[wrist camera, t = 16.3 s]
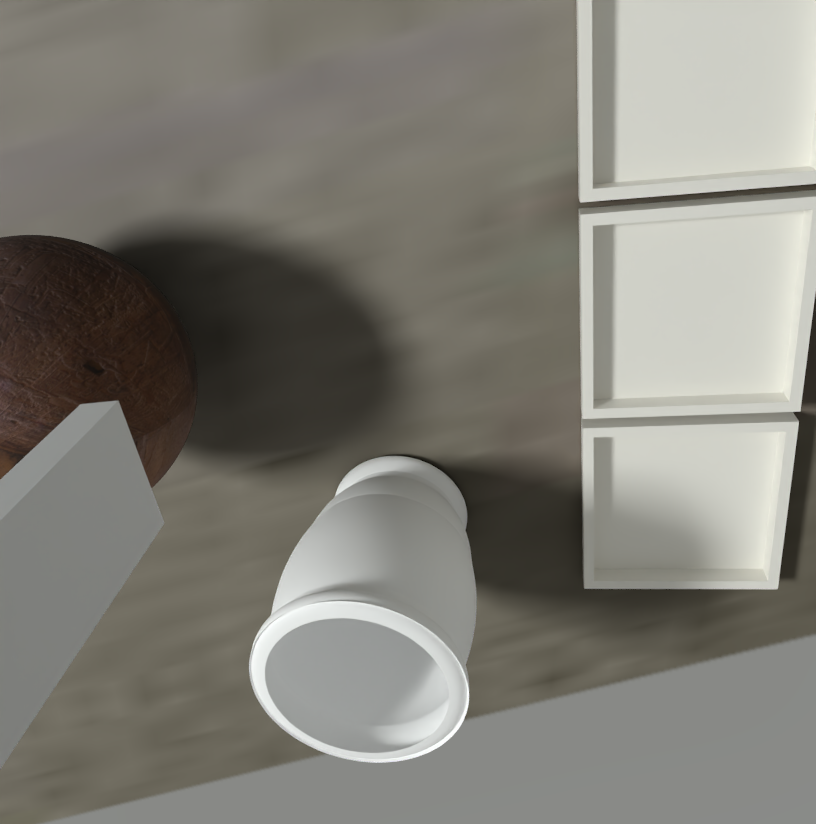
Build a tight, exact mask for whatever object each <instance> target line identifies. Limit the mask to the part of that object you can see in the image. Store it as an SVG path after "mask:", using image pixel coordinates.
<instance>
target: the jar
mask: <svg viewBox="0 0 816 824" xmlns="http://www.w3.org/2000/svg"><path fill="white" fill-rule="evenodd" d="M466 525H467V508H466V504H465V501H464V498H463V496H462V494H461V492H460V490H459V489H458V487H457V486H456V485H455V483H454V482H453V481H452V480H451V479H450V478H449V477H448V476H447V475H446V474H445V473H443V472H442V471H441V470H439V469H438V468H436V467H434V466H433V465H431V464H429V463H426V462H424V461H421V460H419V459H415V458H411V457H405V456H383V457H378V458H374V459H371V460H368V461H365V462H363V463H361V464H359V465H358V466H356V467H355V468H353V469H352V470H351V471H350V472H349V473H348V474H347V475H346V476H345V477H344V478H343V480H342V481H341V483H340V484H339V486H338V489H337V491H336V495H335V497H334V498H333V499H332V500H331V501H330V502H329V503H328V504H327V505H326V507H325V508H324V509H323V510H322V511H321V513H320V514H319V515H318V517H317V518H316V520H315V521H314V523H313V524H312V525H311V526H310V528H309V529H308V530H307V531H306V533H305V534H304V535H303V537H302V538H301V540H300V541H299V543H298V544H297V546H296V547H295V549H294V551H293V552H292V554H291V556H290V558H289V560H288V562H287V564H286V566H285V569H284V571H283V574H282V576H281V579H280V582H279V585H278V588H277V591H276V595H275V599H274V603H273V608H272V613H271V616H270V617H269V618H268V619H267V620H266V621H265V623H264V624H263V625H262V627H261V628H260V630H259V632H258V634H257V636H256V638H255V640H254V643H253V647H252V651H251V654H250V660H249V675H250V680H251V684H252V688H253V690H254V693H255V695H256V697H257V699H258V701H259V702H260V704H261V706H262V707H263V709H264V710H265V711H266V713H267V714H268V715H269V716H270V717H271V718H272V719H273V720H274V721H275V722H276V723H277V724H278V725H279V726H280V727H281V728H282V729H283V730H285V731H286V732H287V733H289V734H290V735H291V736H293V737H294V738H296V739H298V740H299V741H301V742H303V743H304V744H306V745H308V746H310V747H312V748H315V749H317V750H319V751H322V752H324V753H327V754H330V755H333V756H337V757H340V758H345V759H349V760H355V761H362V762H395V761H402V760H406V759H411V758H415V757H418V756H421V755H423V754H426V753H428V752H430V751H432V750H434V749H436V748H438V747H439V746H441V745H442V744H443V743H445V742H446V741H447V740H449V739H450V738H451V736H453V735H454V734H455V732H456V731H457V730H458V729H459V727H460V726H461V724H462V722H463V720H464V718H465V715H466V713H467V709H468V703H469V678H468V672H467V668H466V662H467V659H468V656H469V652H470V649H471V644H472V640H473V635H474V629H475V622H476V608H477V598H476V584H475V576H474V570H473V566H472V558H471V550H470V545H469V540H468V537H467V533H466V531H465V530H466Z"/></svg>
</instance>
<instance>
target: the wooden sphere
mask: <svg viewBox="0 0 816 824" xmlns="http://www.w3.org/2000/svg"><path fill="white" fill-rule="evenodd" d="M197 389H198V383H197V369H196V362H195V357H194V353H193V349H192V346H191V343H190V340H189V337H188V335H187V332H186V330H185V328H184V326H183V323H182V322H181V320H180V318H179V316H178V314H177V313H176V311H175V310H174V308H173V307H172V305H171V304H170V302H169V301H168V300H167V298H166V297H165V296H164V295H163V294H162V292H161V291H160V290H159V289H158V288H157V287H156V286H155V285H154V284H153V283H152V282H151V281H150V280H149V279H148V278H147V277H145V276H144V275H143V274H142V273H141V272H139V271H138V270H137V269H135V268H134V267H132V266H131V265H130V264H128V263H126V262H125V261H123V260H122V259H120V258H118V257H116V256H114V255H112V254H110V253H108V252H106V251H104V250H102V249H99V248H97V247H94V246H91V245H89V244H85V243H82V242H79V241H75V240H70V239H66V238H60V237H53V236H42V235H20V236H9V237H2V238H0V479H2V478H3V477H4V476H5V475H6V474H7V473H8V472H9V471H10V470H11V469H12V468H13V467H14V466H15V465H16V464H17V463H19V462H20V461H21V460H22V459H23V458H24V457H25V456H26V455H27V454H28V453H29V452H30V451H31V450H32V449H33V448H35V447H36V446H37V445H38V444H39V443H40V442H41V441H42V440H43V439H44V438H45V437H46V436H47V435H48V434H49V433H50V432H52V431H53V430H54V429H55V428H56V427H57V426H58V425H59V424H60V423H61V422H62V421H63V420H64V419H65V418H66V417H67V416H69V415H70V414H71V413H72V412H73V411H74V410H75V409H76V408H77V407H78V406H79V405H80V404H87V403H97V402H108V401H119V403H120V406H121V409H122V411H123V414H124V417H125V419H126V422H127V425H128V427H129V430H130V433H131V435H132V438H133V441H134V443H135V446H136V449H137V451H138V454H139V457H140V459H141V462H142V465H143V467H144V470H145V473H146V475H147V478H148V481H149V483H150V486H151V488H152V487H153V486H154V485H155V484H156V483H157V482H158V481H159V480H160V479H161V478H162V477H163V476H164V475H165V473H166V472H167V471H168V470H169V468H170V467H171V466H172V464H173V463H174V461H175V460H176V458H177V457H178V455H179V453H180V451H181V450H182V448H183V446H184V444H185V441H186V439H187V437H188V434H189V432H190V429H191V426H192V422H193V418H194V414H195V409H196V403H197Z"/></svg>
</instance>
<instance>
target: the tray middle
mask: <svg viewBox="0 0 816 824" xmlns="http://www.w3.org/2000/svg"><path fill="white" fill-rule="evenodd" d="M579 282H580V370H581V412H582V419H597V418H627V417H656V416H686V415H715V414H745V413H774V412H800V411H801V403H802V395H803V387H804V379H805V371H806V364H807V356H808V348H809V340H810V332H811V324H812V316H813V309H814V301H815V293H816V190H808V191H795V192H782V193H769V194H757V195H744V196H731V197H718V198H706V199H693V200H680V201H667V202H655V203H642V204H629V205H616V206H604V207H591V208H579Z"/></svg>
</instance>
